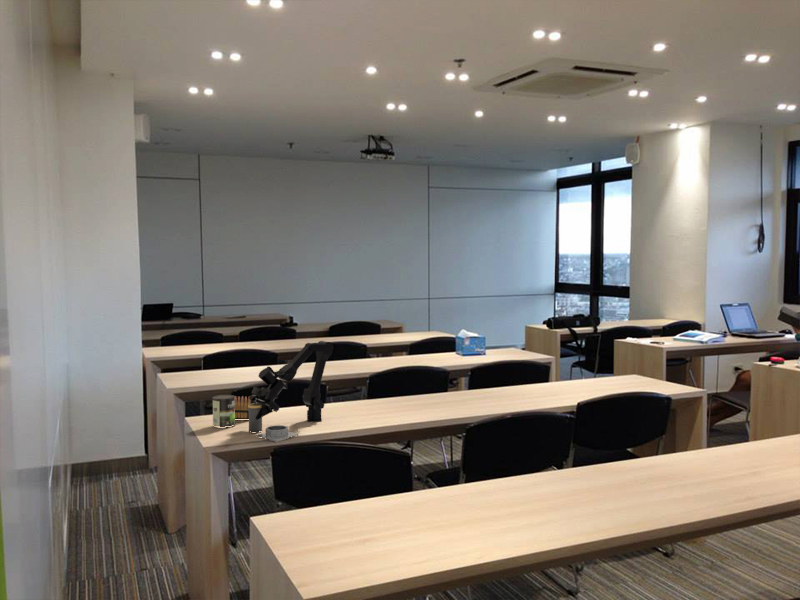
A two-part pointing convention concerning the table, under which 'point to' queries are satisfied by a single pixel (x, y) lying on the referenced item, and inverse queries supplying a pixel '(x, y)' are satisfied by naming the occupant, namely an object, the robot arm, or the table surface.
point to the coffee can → (223, 410)
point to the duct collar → (277, 433)
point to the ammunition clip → (242, 408)
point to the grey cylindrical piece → (254, 423)
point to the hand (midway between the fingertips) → (252, 417)
